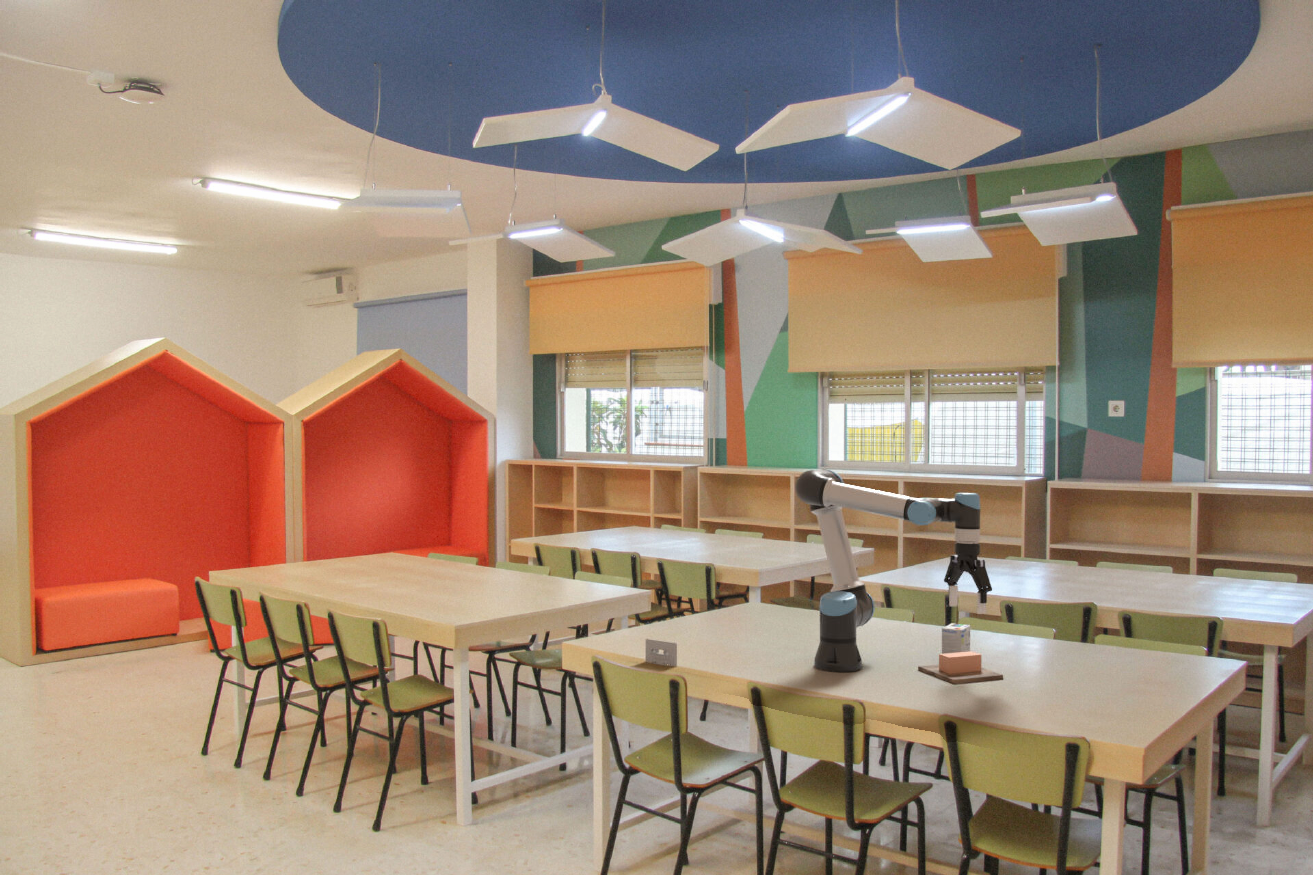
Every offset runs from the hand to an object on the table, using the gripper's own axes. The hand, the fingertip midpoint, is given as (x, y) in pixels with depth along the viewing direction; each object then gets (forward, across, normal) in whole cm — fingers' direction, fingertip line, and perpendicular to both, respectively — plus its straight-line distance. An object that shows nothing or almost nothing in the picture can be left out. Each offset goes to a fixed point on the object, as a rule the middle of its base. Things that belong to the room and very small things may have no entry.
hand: (967, 609), depth 287 cm
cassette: (+21, +43, +87) cm, 99 cm away
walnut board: (+20, 0, +3) cm, 20 cm away
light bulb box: (+20, +19, -10) cm, 29 cm away
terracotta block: (+16, 0, -3) cm, 17 cm away
